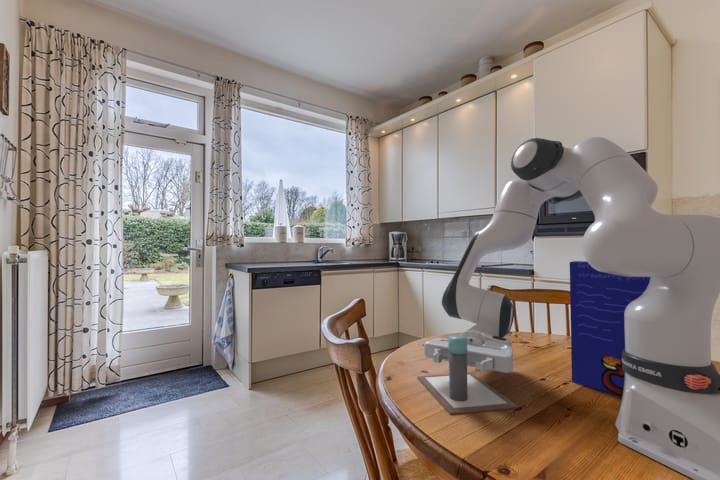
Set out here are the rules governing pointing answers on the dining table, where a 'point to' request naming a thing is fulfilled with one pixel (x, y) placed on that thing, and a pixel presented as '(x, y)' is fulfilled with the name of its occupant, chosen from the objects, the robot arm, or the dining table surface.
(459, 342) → the marker
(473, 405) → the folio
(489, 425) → the dining table surface
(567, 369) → the dining table surface
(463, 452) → the dining table surface
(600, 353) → the cereal box
